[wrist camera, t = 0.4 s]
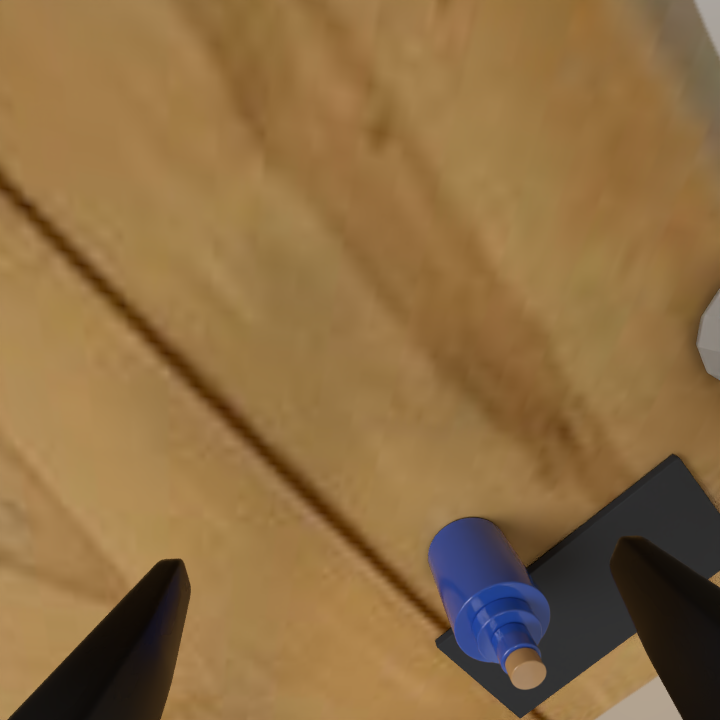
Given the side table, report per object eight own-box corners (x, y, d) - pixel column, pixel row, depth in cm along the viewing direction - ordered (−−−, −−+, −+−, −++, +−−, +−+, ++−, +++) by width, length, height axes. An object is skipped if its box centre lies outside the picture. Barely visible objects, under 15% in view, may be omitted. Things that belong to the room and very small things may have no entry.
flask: (460, 598, 27) (517, 735, 19) (411, 553, 26) (451, 680, 18) (521, 550, 27) (603, 671, 19) (474, 501, 25) (542, 610, 18)
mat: (516, 711, 30) (520, 719, 30) (434, 640, 28) (436, 647, 27) (739, 546, 28) (746, 551, 28) (672, 453, 26) (679, 457, 25)
